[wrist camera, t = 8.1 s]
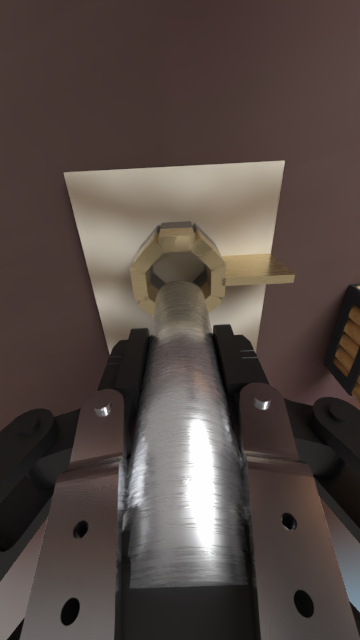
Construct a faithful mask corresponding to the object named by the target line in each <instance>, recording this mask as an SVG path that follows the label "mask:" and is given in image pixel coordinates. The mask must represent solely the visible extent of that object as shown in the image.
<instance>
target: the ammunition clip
mask: <svg viewBox="0 0 360 640" xmlns="http://www.w3.org/2000/svg"><path fill="white" fill-rule="evenodd" d="M324 365H325V366H326V368H327V369H328V370H329V371H330V372H331V374H332V375H333V376H334V377H335V379H336V380H337V381H338V382H339V383H340V385H341V386H342V387H343V388H344V390H345V391H346V392H347V393H348V394H349V395H350V396H351V395H352V394H353V396H354V397H355V398H356V399H357V401H358V402H359V403H360V284H353V285H350V286H348V289H347V292H346V295H345V298H344V301H343V305H342V308H341V311H340V314H339V317H338V320H337V324H336V327H335V330H334V333H333V336H332V339H331V342H330V346H329V349H328V352H327V355H326V358H325V361H324ZM351 393H352V394H351Z"/></svg>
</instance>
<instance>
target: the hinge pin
mask: <svg viewBox="0 0 360 640" xmlns="http://www.w3.org/2000/svg"><path fill="white" fill-rule="evenodd" d="M127 477H128V487H127V507H126V512H125V514H124V516H123V527H122V531H131V533H130V541H129V549H128V557H127V559H129V558H130V560H131V578H130V587H129V589H132V588H162V587H191V586H220V585H248V580H247V574H246V567H245V556H246V554H249V553H248V548H247V542H246V537H245V532H244V527H243V526H248V516H247V510H246V507H245V502H244V491H243V479H242V460H241V455H240V451H239V446H238V442H237V438H236V433H235V429H234V424H233V420H232V416H231V411H230V407H229V403H228V399H227V394H226V390H225V386H224V381H223V377H222V372H221V368H220V364H219V359H218V355H217V350H216V346H215V342H214V337H213V332H212V328H211V324H210V319H209V315H208V310H207V306H206V302H205V297H204V294H203V292H202V290H201V289H200V288H199V287H198V286H197V285H196V284H195V283H193V282H191V281H188V280H173V281H170V282H168V283H166V284H165V285H163V286H162V287H161V288H160V290H159V291H158V293H157V295H156V300H155V306H154V312H153V319H152V325H151V331H150V338H149V344H148V351H147V357H146V363H145V370H144V376H143V382H142V389H141V395H140V402H139V407H138V413H137V420H136V426H135V432H134V439H133V445H132V451H131V458H130V464H129V470H128V476H127Z"/></svg>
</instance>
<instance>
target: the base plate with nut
mask: <svg viewBox="0 0 360 640" xmlns="http://www.w3.org/2000/svg"><path fill="white" fill-rule="evenodd" d="M284 163H285V161H270V162H251V163H232V164H214V165H195V166H176V167H157V168H138V169H119V170H101V171H82V172H63V173H64V177H65V181H66V185H67V189H68V193H69V196H70V200H71V204H72V208H73V212H74V216H75V220H76V224H77V228H78V232H79V236H80V240H81V244H82V248H83V251H84V255H85V259H86V263H87V267H88V271H89V275H90V279H91V283H92V287H93V291H94V295H95V299H96V303H97V306H98V310H99V314H100V318H101V322H102V326H103V330H104V334H105V338H106V342H107V346H108V350H109V354H111V351H112V348H113V347H114V346H115V345H116V344H117V343H118V342H119V341H120V340H128V338H129V334H130V331H131V329H133V328H148V330H149V336H150V331H151V325H152V319H153V312H154V306H155V300H156V295H157V293H158V291H159V290H160V288H161V287H162V286H163V285H165V284H166V283H168V282H170V281H173V280H188V281H191V282H193V283H195V284H196V285H197V286H198V287H199V288H200V289H201V290H202V292H203V294H204V297H205V302H206V306H207V310H208V315H209V319H210V324H211V328H212V332H213V325H222V324H230V325H231V327H232V330H233V333H234V335H244V336H245V337H246V338H247V339H248V340H249V341H250V342H251V344H252V346H253V348H254V351H255V353H256V346H257V340H258V333H259V327H260V320H261V314H262V307H263V300H264V294H265V287H266V284H278V283H293V281H294V277H295V274H294V273H292V272H291V271H290V270H289V269H288V268H287V267H286V266H284V265H283V264H282V263H281V262H280V261H279V260H278V259H276V258H275V257H274V256H273V255H272V254H271V248H272V241H273V235H274V228H275V222H276V215H277V209H278V202H279V195H280V189H281V182H282V176H283V169H284Z"/></svg>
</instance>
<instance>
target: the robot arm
mask: <svg viewBox="0 0 360 640" xmlns="http://www.w3.org/2000/svg"><path fill="white" fill-rule="evenodd" d="M213 337H214V342H215V346H216V350H217V355H218V359H219V364H220V368H221V372H222V377H223V381H224V386H225V390H226V394H227V399H228V403H229V407H230V411H231V416H232V420H233V424H234V429H235V433H236V438H237V442H238V446H239V451H240V455H241V460H242V479H243V491H244V502H245V507H246V510H247V516H248V526H243V527H244V532H245V537H246V542H247V548H248V553H249V554H246V556H245V567H246V574H247V580H248V585H220V586H191V587H162V588H132V589H129V587H130V578H131V560H130V558H129V559H127V557H128V549H129V541H130V533H131V531H122V527H123V516H124V514H125V512H126V507H127V487H128V477H127V476H128V470H129V464H130V458H131V451H132V445H133V439H134V432H135V426H136V420H137V413H138V407H139V402H140V395H141V389H142V382H143V376H144V370H145V363H146V357H147V351H148V344H149V338H150V336H149V330H148V328H133V329H131V331H130V334H129V338H128V340H120V341H119V342H118V343H117V344H116V345H115V346H114V347H113V348H112V351H111V354H110V358H109V359H108V362H107V365H106V368H105V371H104V373H103V376H102V379H101V382H100V385H99V387H98V390H97V392H95V393H93V394H91V395H90V396H89V397H88V398H87V399H86V400H85V401H84V402H83V404H82V406H81V408H80V409H78V410H75V411H72V412H69V413H66V414H63V415H59V416H56V417H54V416H53V414H52V413H51V412H50V411H49V410H47V409H34V410H30V411H28V412H25V413H23V414H22V415H20V416H18V417H17V418H16V419H14V420H13V421H12V422H11V423H10V424H9V425H8V426H6V427H5V428H4V429H3V430H2V431H1V432H0V502H1V501H2V502H1V503H0V581H1V580H2V579H3V577H4V576H5V574H6V573H7V572H8V570H9V569H10V567H11V566H12V565H13V563H14V562H15V561H16V559H17V558H18V557H19V555H20V554H21V552H22V551H23V550H24V548H25V547H26V546H27V544H28V543H29V541H30V540H31V539H32V537H33V536H34V534H35V533H36V532H37V530H38V529H39V528H40V526H41V525H42V523H43V522H44V521H45V519H46V518H47V517H48V519H47V523H46V528H45V532H44V536H43V541H42V545H41V550H40V554H39V558H38V562H37V567H36V571H35V576H34V580H33V584H32V588H31V593H30V597H29V602H28V606H27V610H26V615H25V618H24V619H23V620H22V621H21V623H20V624H19V625H18V627H17V628H16V629H15V630H14V632H13V633H12V634H11V635H10V637H9V638H8V639H7V640H360V612H359V611H358V610H357V609H356V608H355V607H354V606H353V605H352V603H351V602H350V601H349V599H348V596H347V592H346V588H345V585H344V582H343V578H342V574H341V571H340V568H339V564H338V561H337V557H336V554H335V550H334V547H333V543H332V540H331V536H330V533H329V529H328V526H327V522H326V519H325V515H324V512H323V508H322V506H321V502H320V498H319V496H320V497H321V498H322V499H323V501H324V502H325V503H326V504H327V505H328V507H329V508H330V509H331V510H332V511H333V512H334V514H335V515H336V516H337V517H338V518H339V519H340V521H341V522H342V523H343V524H344V525H345V527H346V528H347V529H348V530H349V531H350V532H351V534H352V535H353V536H354V537H355V538H356V540H357V541H358V542H359V543H360V410H358V409H357V408H356V407H354V406H353V405H351V404H350V403H348V402H346V401H344V400H341V399H338V398H333V397H324V398H320V399H318V400H317V401H316V402H315V403H314V406H311V405H306V404H302V403H297V402H293V401H290V400H287V399H285V398H283V396H282V394H281V393H280V392H279V391H278V390H277V389H275V388H274V387H272V386H270V385H269V383H268V380H267V378H266V376H265V373H264V371H263V369H262V367H261V364H260V362H259V360H258V358H257V355H256V353H255V351H254V348H253V346H252V344H251V342H250V341H249V340H248V339H247V338H246V337H245V336H244V335H234V333H233V330H232V327H231V325H230V324H222V325H213ZM25 474H26V475H25ZM18 482H19V483H18ZM17 483H18V484H17ZM16 484H17V485H16ZM10 491H11V492H10ZM9 492H10V493H9ZM8 493H9V494H8Z"/></svg>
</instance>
